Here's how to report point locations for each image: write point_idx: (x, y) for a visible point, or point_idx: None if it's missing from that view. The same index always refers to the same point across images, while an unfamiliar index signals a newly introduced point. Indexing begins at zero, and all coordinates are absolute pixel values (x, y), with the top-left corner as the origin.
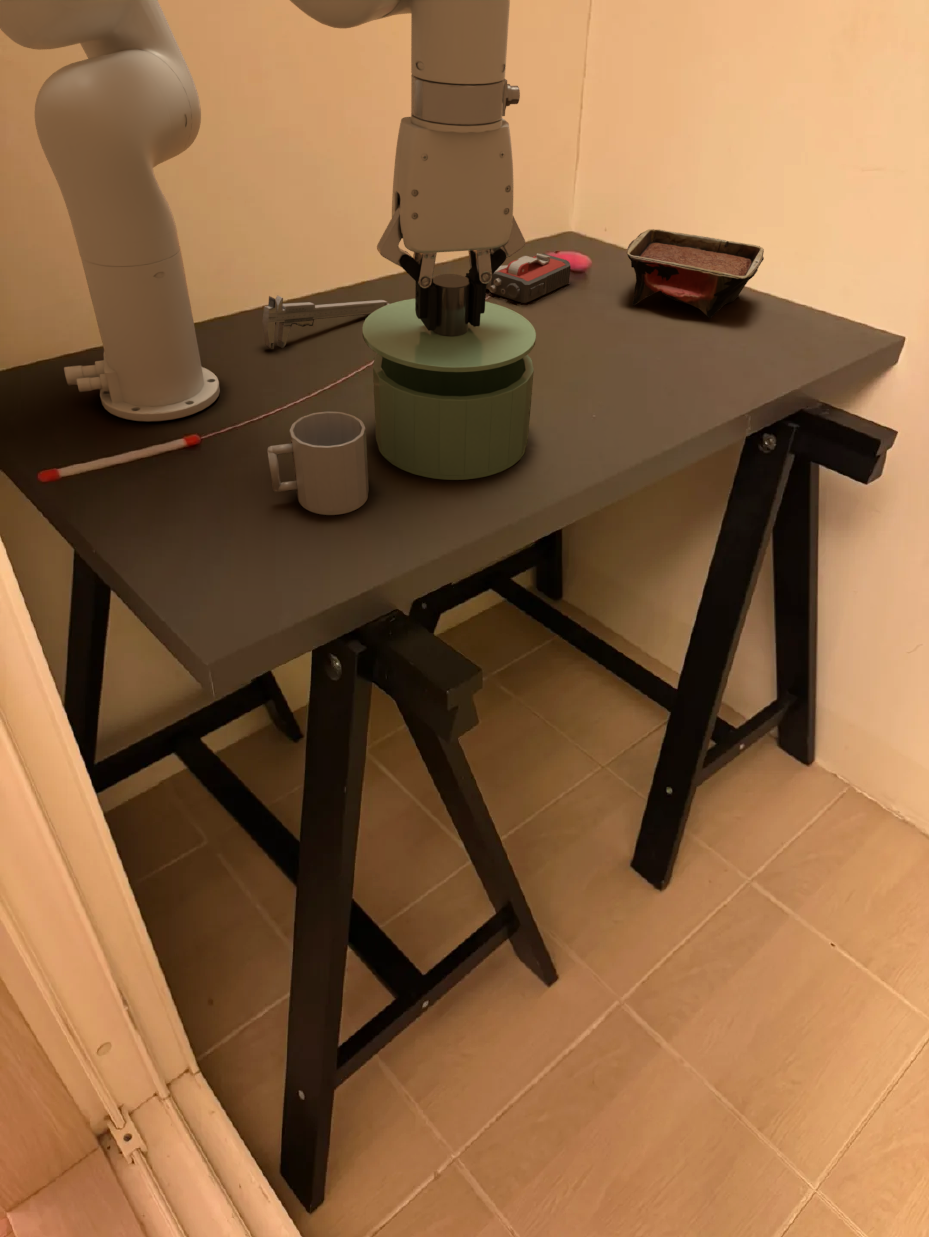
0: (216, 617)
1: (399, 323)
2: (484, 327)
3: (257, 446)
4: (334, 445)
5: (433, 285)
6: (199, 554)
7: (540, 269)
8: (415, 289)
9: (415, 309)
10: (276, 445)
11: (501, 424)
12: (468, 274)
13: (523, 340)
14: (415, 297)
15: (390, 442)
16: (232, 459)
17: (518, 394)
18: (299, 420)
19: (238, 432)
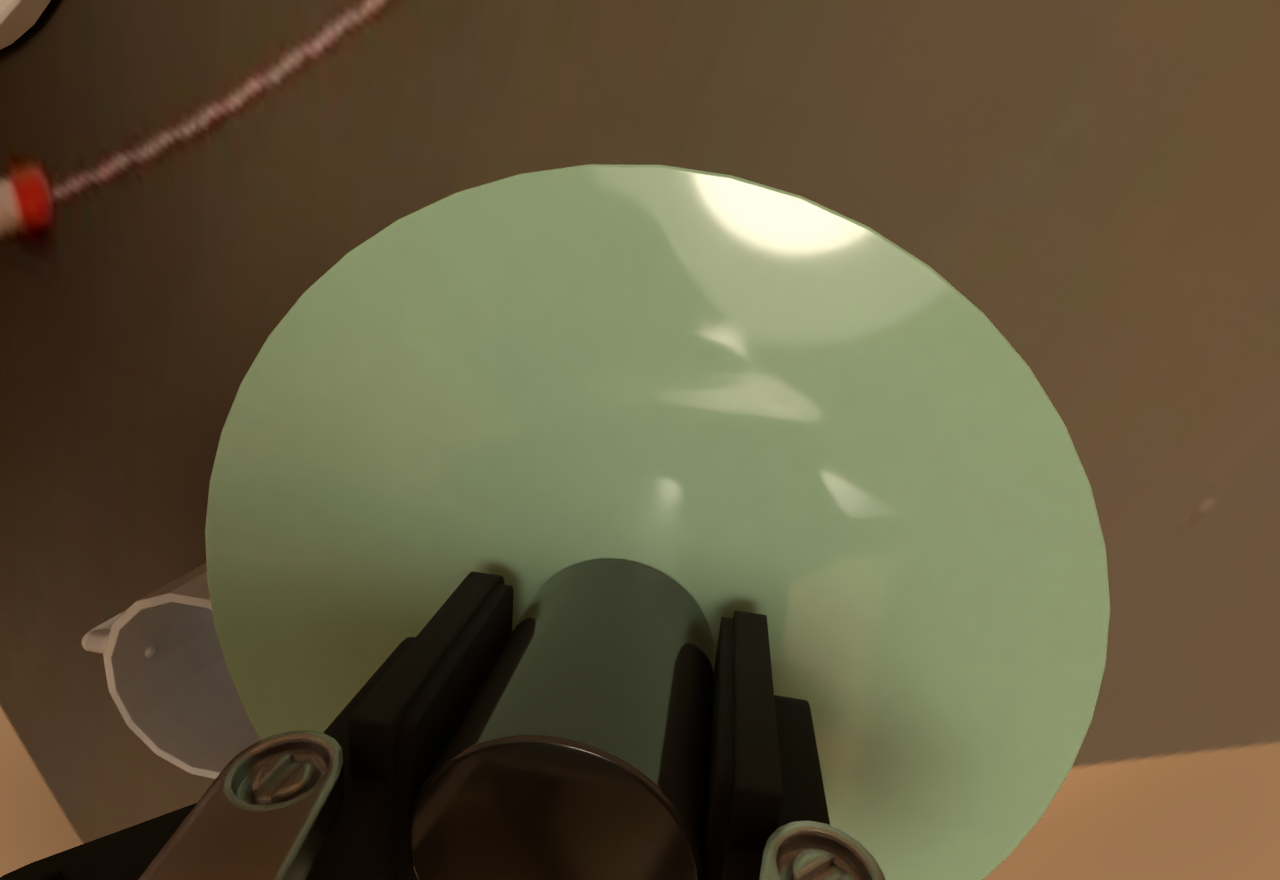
0: (115, 813)
1: (392, 501)
2: (801, 692)
3: (188, 296)
4: (206, 773)
5: (407, 860)
6: (81, 658)
7: None
8: (335, 720)
9: (404, 642)
10: (97, 645)
11: None
12: (743, 815)
13: (910, 876)
14: (366, 683)
15: None
16: (130, 339)
17: None
18: (129, 617)
19: (142, 196)
